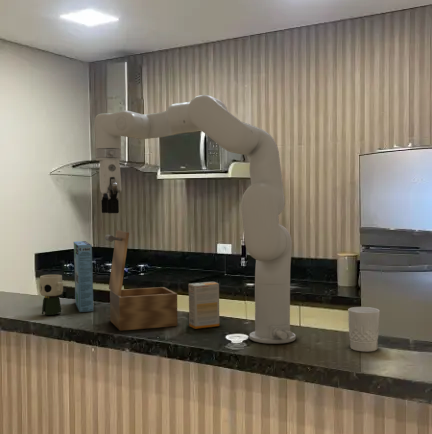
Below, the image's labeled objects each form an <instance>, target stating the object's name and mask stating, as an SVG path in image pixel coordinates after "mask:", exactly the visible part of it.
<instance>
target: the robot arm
mask: <svg viewBox="0 0 432 434" xmlns="http://www.w3.org/2000/svg"><path fill="white" fill-rule="evenodd" d="M195 132H196V133H197V132H202V133H204V135H206V136H207V137H209V139H211V140H212V141H213V142H214V143H216V144H217V145H218V146H219V147H221V148H222V149H224V151H227V152H229V153H231V154H236V155H243V156H247V157H248V159H249V177H250V185H249V186H248V187H247V188H246V190H245V191H244V193H243V195H242V198H241V205H240V206H241V217H242V227H243V237H244V244H245V248H246V251H247V253H248V254H249V255H250V257H251V258H253V259H254V260H255V266H254V267H255V269H254V330H253V331H252V332H250V333H249V335H248V336H249V340H250V341H253V342H255V343H259V344H270V345H271V344H272V345H279V344H280V345H281V344H288V343H292V342H294V341H295V340H296V339H297V336H296V334H295V333H294V332H292V331H291V263H292V251H293V241H292V240H293V239H292V235H291V233H290V232H289V230H288V229H287V228H286V227H285V226H284V225H282V224H280V218H279V215H280V214H282V212H283V211H284V208H285V205H286V199H285V198H286V197H285V192H284V184H283V173H282V170H281V169H282V167H281V158H280V152H279V148H278V144H277V142H276V141H275V139H274V137H273V136H272V135H271V134H270V133H269V132H268V131H266V130H265V129H263V128H260V127H257V126H255V125H253V124H249V123H247V122H243V121H241V120H240V119H239V118H237V117H236V116H235V115H234V114H232V113H231V112H229V110H228V107H227V106H226V104H225V103H224V102H223V101H222V100H220V99H218V98H216V97H214V96H211V95H209V94H199V95H197V96H195V97H193V98H192V99H191V100H190V101H187V102H186V101H185V102H176V103H172V104H170V105H169V106H168V108H167V109H166V110H164V111H161V112H155V113H144V114H143V113H139V112H135V111H131V110H120V111H116V112H113V113H109V112H105V113H104V112H103V113H99V114H96V116H95V117H94V138H95V142H94V143H95V161H96V162H99V167H98V168H99V189H100V190H99V191H100V193H101V201H100V202H101V213H102V214H119V213H120V208H119V207H120V203H119V194H120V193H122V189H123V188H122V176H121V175H122V174H121V165H120V161H122V137H125V138H131V139H136V140H149V139H158V138H165V137H169V136H175V135H180V134H186V133H187V134H188V133H195Z"/></svg>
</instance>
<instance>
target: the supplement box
mask: <svg viewBox="0 0 432 434" xmlns="http://www.w3.org/2000/svg"><path fill="white" fill-rule="evenodd" d="M188 323H189V324H188V326H189V327H190V328H192V329H194V330H199V329H206V328H214V327H220V326H221V325H220V284H219V283H218V282H215V281H203V282H192V283H188Z"/></svg>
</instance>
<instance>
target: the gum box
mask: <svg viewBox="0 0 432 434" xmlns="http://www.w3.org/2000/svg"><path fill="white" fill-rule="evenodd" d="M73 261H74V265H73V266H74V298H75V300H74V301H75V302H74V304H75V305H76V308H77V310H78V312H79V313H86V312H87V313H88V312H94V280H93V279H94V278H93V277H94V276H93V245H92V244H91V243H89V242H88V241H86V240H84V241H83V240H80V241H79V240H77V241H73Z"/></svg>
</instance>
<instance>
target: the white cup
mask: <svg viewBox="0 0 432 434" xmlns="http://www.w3.org/2000/svg"><path fill="white" fill-rule="evenodd" d="M347 315H348V316H347V317H348V319H347V320H348V321H347V322H348V337H349V347H350V350H353V351H357V352H364V353H365V352H375V351H377V350H378V345H379V344H378V343H379V340H378V339H379V333H380V316H381V310H380V309H379V308H376V307H369V306H354V307H353V306H352V307H349V308H348V309H347Z"/></svg>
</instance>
